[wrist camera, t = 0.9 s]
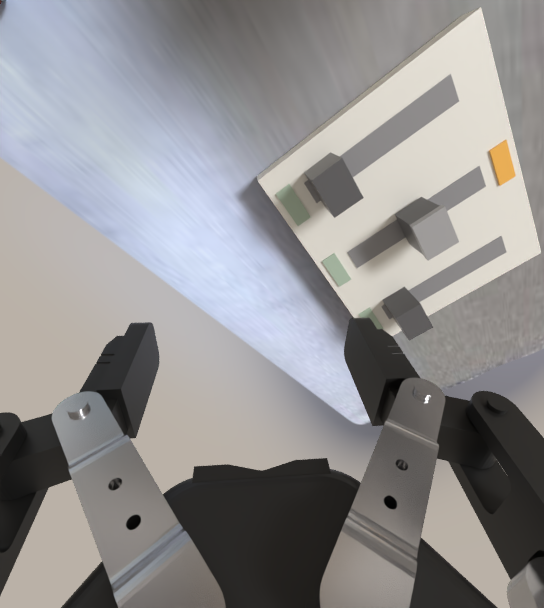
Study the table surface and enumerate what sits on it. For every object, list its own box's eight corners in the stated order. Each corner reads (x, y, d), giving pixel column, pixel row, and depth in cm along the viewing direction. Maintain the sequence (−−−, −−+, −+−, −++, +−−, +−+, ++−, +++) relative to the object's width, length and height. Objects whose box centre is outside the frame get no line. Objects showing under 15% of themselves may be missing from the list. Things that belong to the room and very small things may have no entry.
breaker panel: (462, 15, 27) (518, -9, 22) (525, 244, 39) (571, 267, 34) (256, 176, 33) (259, 189, 27) (367, 334, 45) (385, 366, 39)
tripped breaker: (421, 195, 32) (445, 206, 29) (435, 227, 34) (459, 241, 31) (393, 214, 33) (412, 227, 29) (408, 245, 35) (428, 260, 31)
